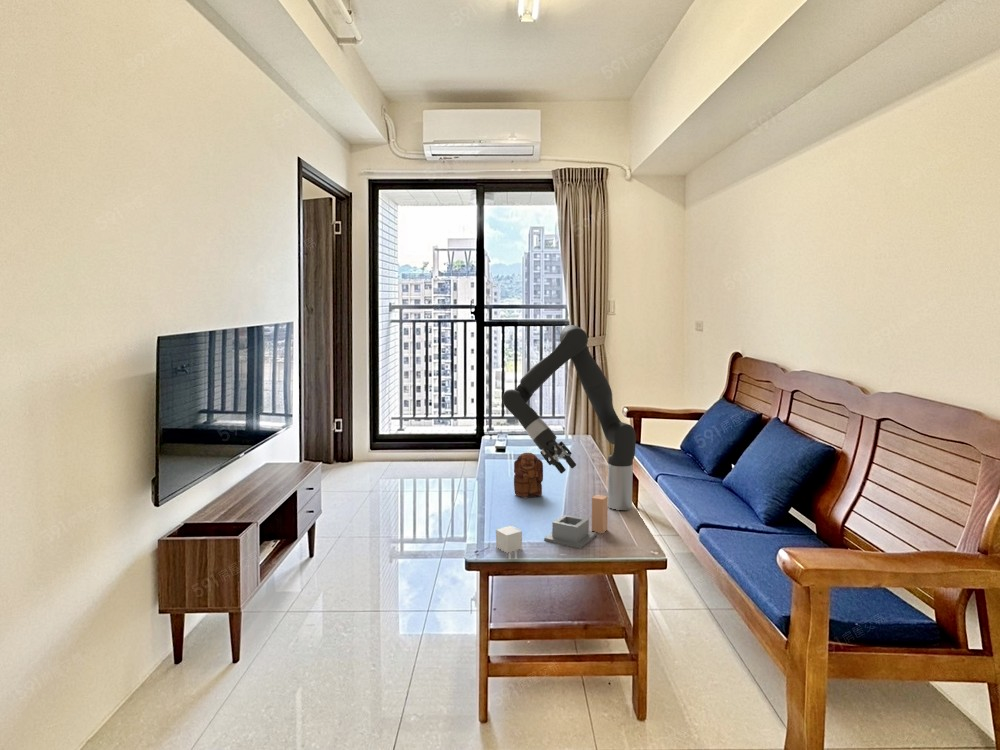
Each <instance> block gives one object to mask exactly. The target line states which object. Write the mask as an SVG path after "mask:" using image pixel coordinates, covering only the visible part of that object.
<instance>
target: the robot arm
mask: <svg viewBox="0 0 1000 750" xmlns="http://www.w3.org/2000/svg"><path fill="white" fill-rule="evenodd" d="M588 337H589V336H588V334H587V332H586V331H585V330H583V328H581V327H579V326H577V325H574V324H573V325H572V324H569V325H566V326H564V327H563V328H562V329H561V331H560V334H559V340H560V343H559V344H558V345H557V346H556V347H555V349H554V350H553V351H552V352H550V353H549V355H547V356H546V357H544V358H543V359H541V360H540V361H539V362H537V363H535V365H533V366H532V367H531V368H530V369H529V370H528V371H527V372H526V373H525V374H524V375H523V376H522V377H521V379H520V383H519V384H518V386H517V387H516V388H514V389H511V388H510V389H507V390H505V391H504V392H503V394H502V397H501V398H502V403H503V405H504V406H505V408H506V409H507V410H508V411H509V412H510V413H511V414H512V415H513V416H514V417H515V418H516V420H517V421H518V422H519V424H520V425H521V426H522V427H523V429H524V430H525V431H526V433H527V434H528V436H529V437H530V439H531V440H532V441H533V443H535V445H536V446H537V447H538V449H539V451H540V455H541V456H542V458H544V460H545V461H546V463H547V464H548V465H549V466H554V467H555V468H556V469H557V471H558V472H559V473H560V474H563V473H565V472H566V470H567V469H566V468H565V466H564V465H563V464H562V463H561V461H559V459H563V460H564V461H565V462H566V464H567V465H568V466H569V467H570V468H571V469H574V468H576V466H577V463H576V462H575V460H574V459H573V458H572V457H571V455H572V454H573V453H572V451H571V450H570V449H569V448H568V447H567V445H566V444H565V443H564V442H563V441H560V442H559V443H558V442H557V441H556V440H557V438H558V437H557V436H556V434H555V433H554V431H553V430H552V429H551V428H550V427H549V426H548V424H547V423H546V422H545V421H544V420H543V419H542V417H540V416H539V414H538V413H537V412H536V411H535V410H534V408H532V407H531V406H529V404H528V402H529V401H530V400H531V397H532V396H533V395H534V393H535V392H536V391H537V390H538V389H540V387H542V386H543V384H545V382H547V380H548V379H549V378H550V377H551V376H552V375H554V373H555V372H556V371H557V370H558V369H560V368H561V367H562V366H563V365H565V364H566V363H567V362H568V361H570V360H571V361H572V364H573V365H574V368H575V371H576V373H577V377H578V379H579V381H580V383H581V385H582V388H583V390H584V393H585V394H586V396H587V398H588V400H589V402H590V404H591V406H592V408H593V411H594V412H595V415H596V416H597V419H598V420H599V423H600V426H601V429H602V432H603V434H604V437H605V439H606V440H607V441H608V443H610V444H612V445H613V453H612V454H610V455H609V456H608V458H607V462H608V463H607V496H608V497H607V508H608V509H610V508H612V509H611V510H613V509H616V510H615V511H619V510H625V511H630V510H631V509H632V507H633V467H634V466H633V465H634V464H633V463H634V459H635V455H636V444H637V443H636V442H637V439H636V438H637V436H636V435H637V434H636V430H635V428H634V427H633V426H632V425H630V424H628V423H625V422H622V421H621V419H620V418H619V416H618V415H617V412H616V410H615V409H614V403H613V392H612V388H611V386H610V384H609V382H608V380H607V377H606V376H605V374H604V372H603V371H602V369H601V367H600V366H599V365H598V363H597V361H596V360H595V359H594V358H593V356H592V354H591V352H590V349H589V347H588V342H589V338H588ZM629 509H630V510H629Z"/></svg>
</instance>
